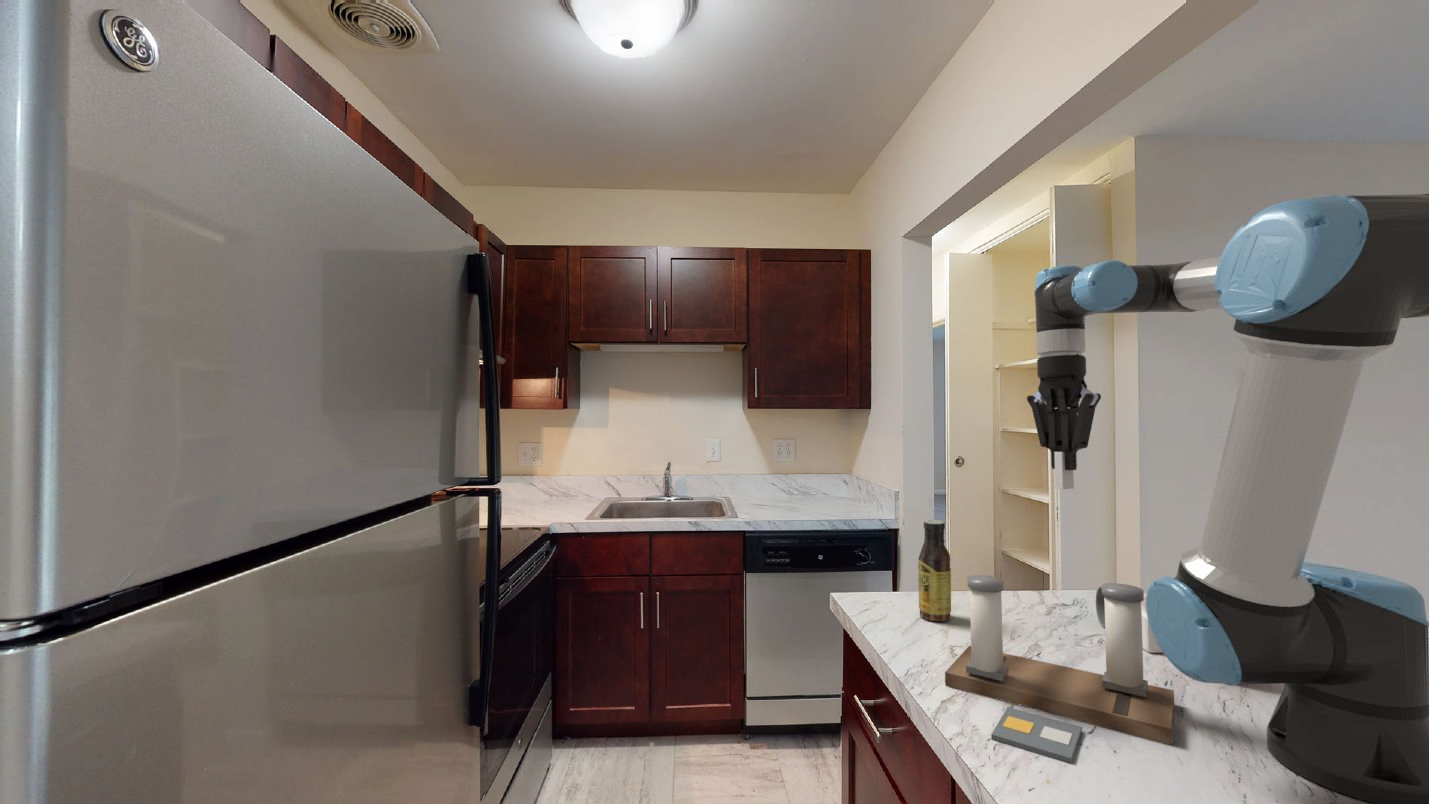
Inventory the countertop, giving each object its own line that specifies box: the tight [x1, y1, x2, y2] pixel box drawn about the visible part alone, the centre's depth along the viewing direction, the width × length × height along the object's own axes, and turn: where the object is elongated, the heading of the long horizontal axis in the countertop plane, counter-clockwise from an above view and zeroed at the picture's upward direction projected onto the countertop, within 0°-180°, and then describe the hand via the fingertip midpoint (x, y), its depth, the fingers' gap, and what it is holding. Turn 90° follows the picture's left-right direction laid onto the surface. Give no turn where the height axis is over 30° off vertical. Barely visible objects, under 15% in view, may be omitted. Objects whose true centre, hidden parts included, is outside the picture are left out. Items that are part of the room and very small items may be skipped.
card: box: [990, 706, 1083, 764], centre depth 79 cm, size 9×9×1 cm
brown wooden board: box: [944, 645, 1175, 746], centre depth 90 cm, size 28×13×2 cm, turn 52°
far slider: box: [966, 574, 1009, 681], centre depth 92 cm, size 5×5×14 cm
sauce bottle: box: [917, 519, 952, 623], centre depth 123 cm, size 6×6×20 cm
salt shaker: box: [1141, 592, 1164, 654], centre depth 105 cm, size 4×4×10 cm
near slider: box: [1101, 582, 1149, 697], centre depth 86 cm, size 5×5×14 cm
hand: (1064, 488), depth 107 cm, fingers closed
